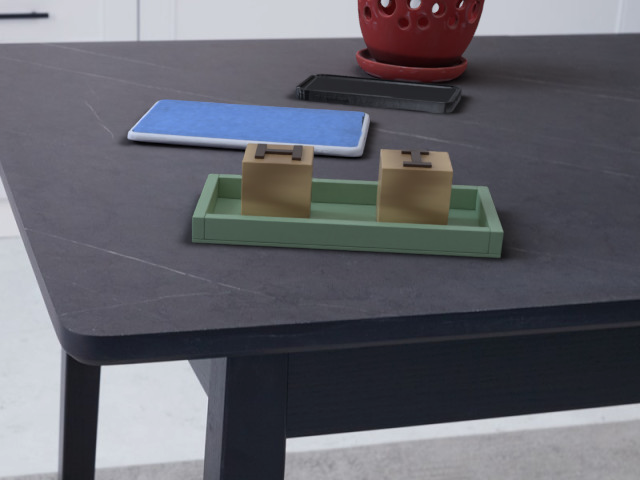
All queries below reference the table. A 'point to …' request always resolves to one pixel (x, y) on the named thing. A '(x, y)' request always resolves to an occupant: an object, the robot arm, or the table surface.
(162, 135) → the tablet
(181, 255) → the table surface
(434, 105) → the dark grey shallow tray
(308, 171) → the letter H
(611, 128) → the table surface
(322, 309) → the table surface
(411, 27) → the flower pot
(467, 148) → the table surface
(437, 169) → the wooden letter block
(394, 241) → the tray
